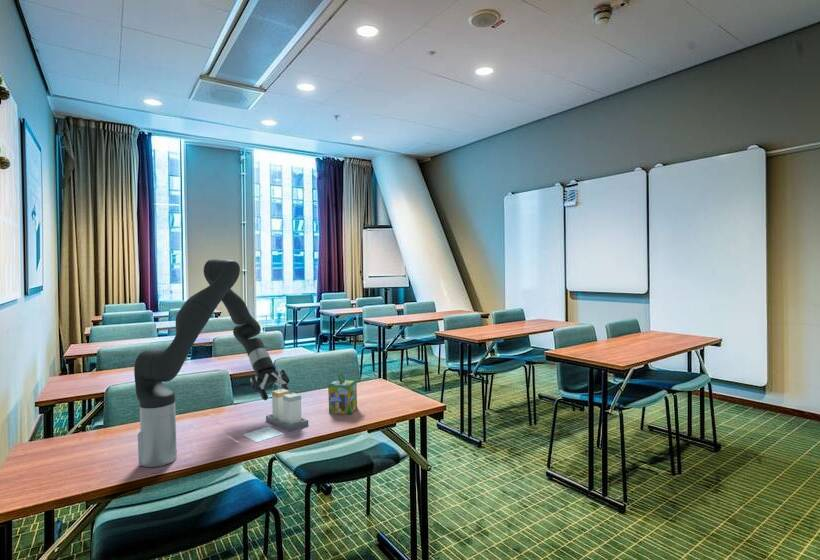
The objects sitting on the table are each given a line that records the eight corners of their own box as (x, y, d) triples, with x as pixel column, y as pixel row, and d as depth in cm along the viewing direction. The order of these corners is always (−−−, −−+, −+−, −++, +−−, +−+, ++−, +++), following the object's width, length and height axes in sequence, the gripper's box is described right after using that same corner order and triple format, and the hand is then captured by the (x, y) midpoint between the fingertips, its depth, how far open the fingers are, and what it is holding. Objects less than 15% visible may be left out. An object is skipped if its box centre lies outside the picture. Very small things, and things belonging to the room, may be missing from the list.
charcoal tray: (266, 421, 165) (265, 415, 165) (285, 416, 171) (285, 410, 171) (288, 432, 154) (288, 425, 154) (308, 426, 160) (308, 420, 160)
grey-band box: (283, 425, 160) (283, 395, 159) (294, 422, 163) (294, 392, 163) (290, 428, 156) (289, 397, 156) (301, 425, 160) (301, 394, 159)
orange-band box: (272, 420, 165) (271, 391, 165) (283, 417, 168) (282, 388, 168) (278, 423, 162) (278, 393, 162) (289, 419, 165) (289, 390, 165)
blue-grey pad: (242, 435, 151) (242, 434, 151) (269, 427, 158) (269, 426, 158) (256, 443, 144) (256, 442, 144) (284, 435, 151) (284, 433, 151)
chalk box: (350, 415, 171) (349, 377, 170) (328, 414, 173) (327, 376, 172) (358, 407, 180) (357, 371, 179) (336, 406, 182) (336, 371, 181)
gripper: (247, 359, 167) (262, 395, 160) (281, 353, 178) (297, 387, 170) (241, 371, 171) (256, 406, 164) (274, 365, 182) (290, 398, 174)
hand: (277, 396), depth 167 cm, fingers open, 8 cm apart
